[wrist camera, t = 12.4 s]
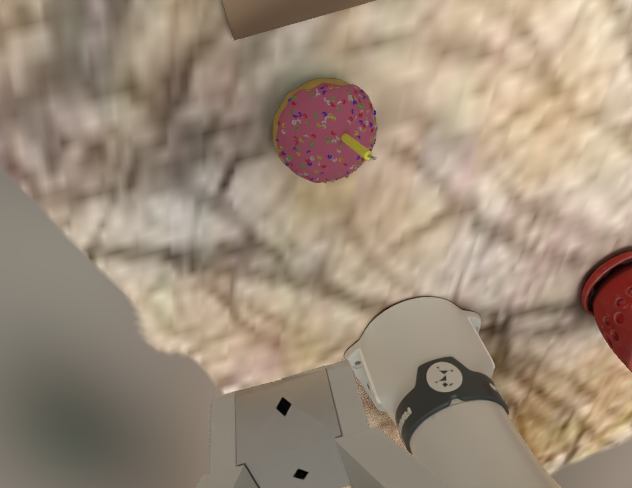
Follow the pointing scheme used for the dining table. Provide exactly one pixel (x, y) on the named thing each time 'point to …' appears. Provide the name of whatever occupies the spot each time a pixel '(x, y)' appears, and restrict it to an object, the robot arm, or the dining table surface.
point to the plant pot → (612, 304)
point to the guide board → (277, 13)
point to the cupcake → (325, 129)
